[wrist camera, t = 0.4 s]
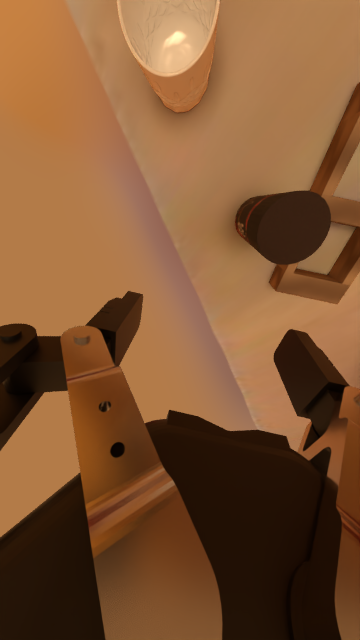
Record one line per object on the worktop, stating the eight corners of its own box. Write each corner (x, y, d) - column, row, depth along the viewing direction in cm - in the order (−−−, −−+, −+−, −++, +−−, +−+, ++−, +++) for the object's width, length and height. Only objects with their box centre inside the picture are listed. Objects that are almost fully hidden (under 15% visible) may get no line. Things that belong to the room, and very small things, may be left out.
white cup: (168, 134, 26) (151, 100, 18) (136, 55, 23) (94, -33, 14) (225, 91, 24) (236, 27, 15) (197, -5, 20) (191, -156, 12)
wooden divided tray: (357, 84, 22) (385, 62, 19) (443, 102, 22) (487, 84, 19) (269, 282, 35) (276, 291, 31) (324, 294, 35) (337, 304, 31)
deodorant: (227, 214, 30) (245, 223, 17) (264, 186, 28) (316, 171, 15) (246, 247, 32) (274, 276, 19) (282, 223, 30) (340, 238, 17)
